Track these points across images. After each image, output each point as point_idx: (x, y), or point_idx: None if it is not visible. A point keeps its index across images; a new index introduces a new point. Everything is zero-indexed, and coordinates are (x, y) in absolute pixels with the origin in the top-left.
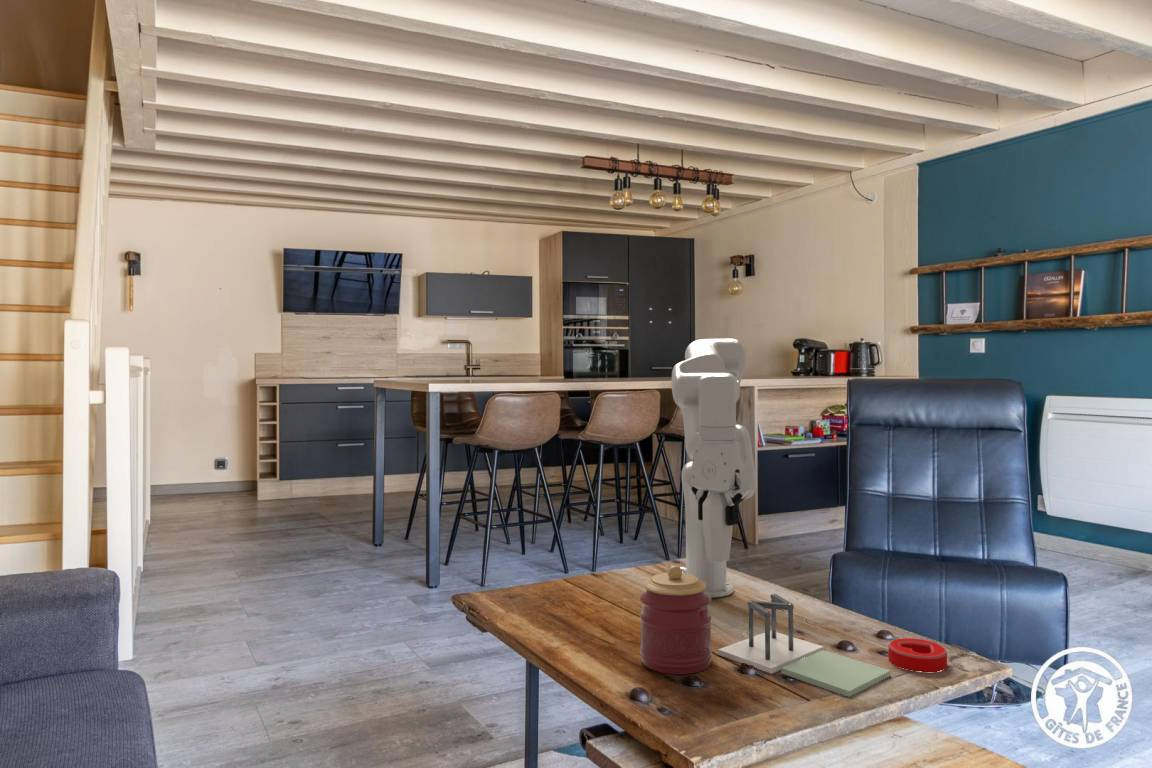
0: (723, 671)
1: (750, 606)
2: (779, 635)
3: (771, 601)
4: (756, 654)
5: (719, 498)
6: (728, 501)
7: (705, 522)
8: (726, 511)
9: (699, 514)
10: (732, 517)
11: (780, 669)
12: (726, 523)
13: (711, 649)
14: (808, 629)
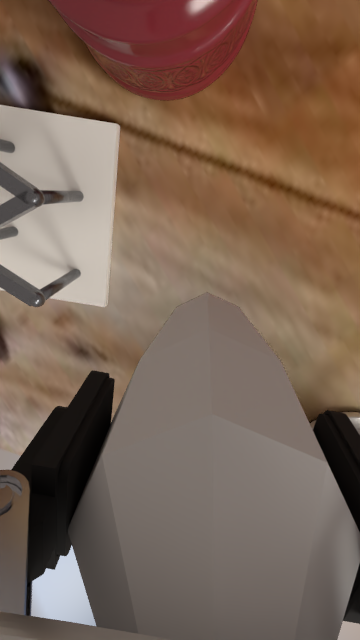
0: (53, 36)
1: (27, 182)
2: (76, 291)
3: (44, 290)
4: (41, 156)
5: (133, 554)
6: (12, 516)
7: (254, 356)
8: (72, 429)
9: (347, 433)
10: (58, 418)
11: None
12: (103, 376)
13: (90, 50)
14: (77, 371)
